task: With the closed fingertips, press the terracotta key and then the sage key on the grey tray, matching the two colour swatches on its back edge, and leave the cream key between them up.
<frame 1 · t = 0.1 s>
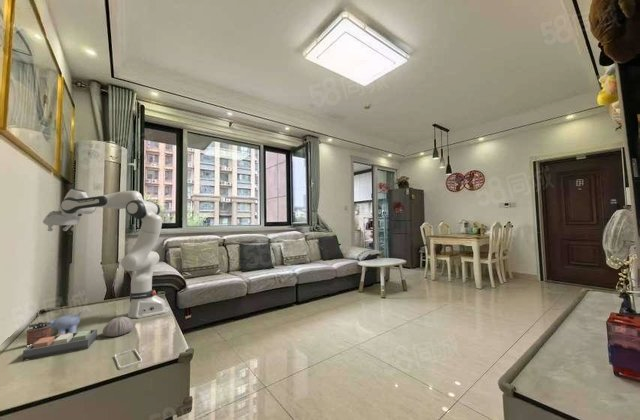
hand: (57, 230, 171), 54 cm above the table, tool tilted 30°, fingers open, 8 cm apart
hippopotamus toy: (63, 333, 140), on the table
lighter: (38, 344, 127), on the table
cream key: (63, 339, 121), point 4 cm above the table, slide at 0.0 cm
grey tray: (63, 347, 121), on the table
terracotta key: (44, 342, 118), point 4 cm above the table, slide at 0.0 cm
sea urchin shell: (118, 333, 137), on the table
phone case: (128, 361, 108), on the table
sage key: (82, 335, 124), point 4 cm above the table, slide at 0.0 cm
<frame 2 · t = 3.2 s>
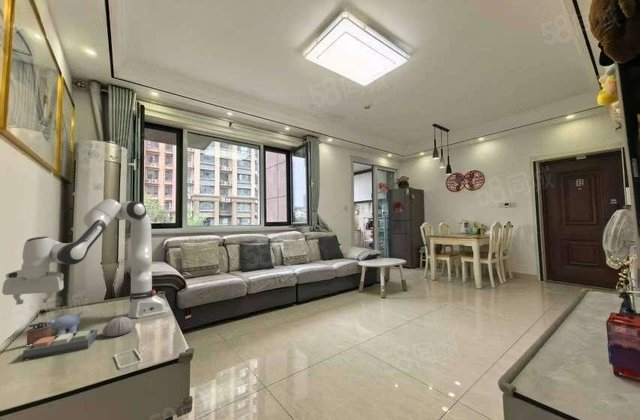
hand: (33, 303, 120), 21 cm above the table, tool pointing down, fingers open, 8 cm apart
nothing on the table moved.
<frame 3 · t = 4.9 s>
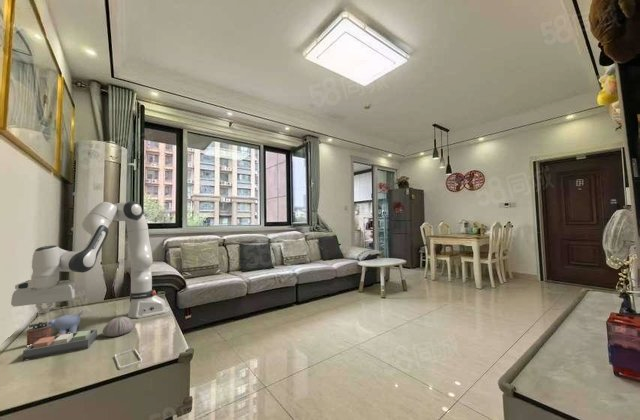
hand: (44, 313, 119), 17 cm above the table, tool pointing down, fingers closed
nothing on the table moved.
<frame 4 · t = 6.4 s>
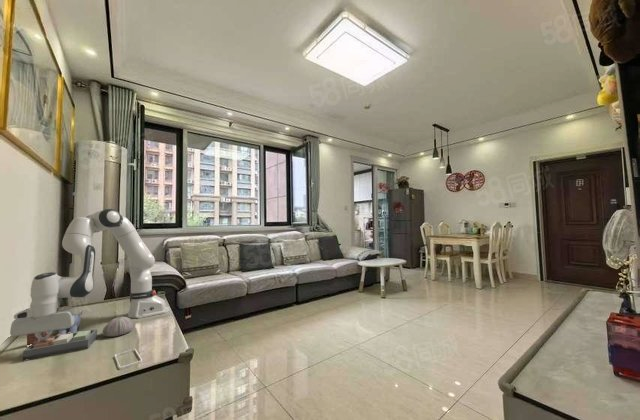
hand: (43, 341, 118), 4 cm above the table, tool pointing down, fingers closed, pressing on terracotta key
terracotta key: (44, 343, 118), point 3 cm above the table, slide at 0.6 cm, touching gripper
everything else where it was.
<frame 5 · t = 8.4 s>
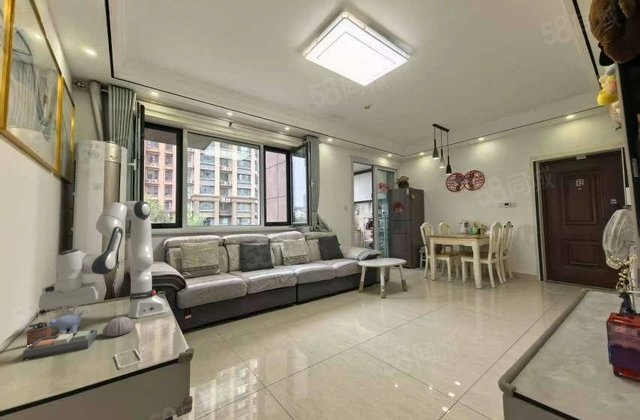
hand: (70, 314, 123), 14 cm above the table, tool pointing down, fingers closed
terracotta key: (44, 344, 118), point 3 cm above the table, slide at 1.1 cm
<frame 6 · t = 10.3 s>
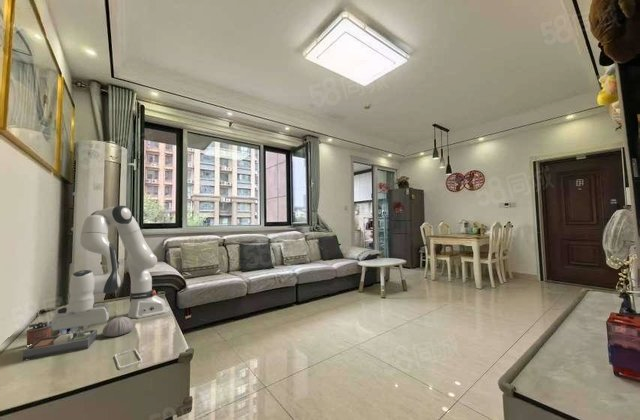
hand: (81, 335, 124), 4 cm above the table, tool pointing down, fingers closed, pressing on sage key
sage key: (82, 337, 124), point 3 cm above the table, slide at 0.9 cm, touching gripper
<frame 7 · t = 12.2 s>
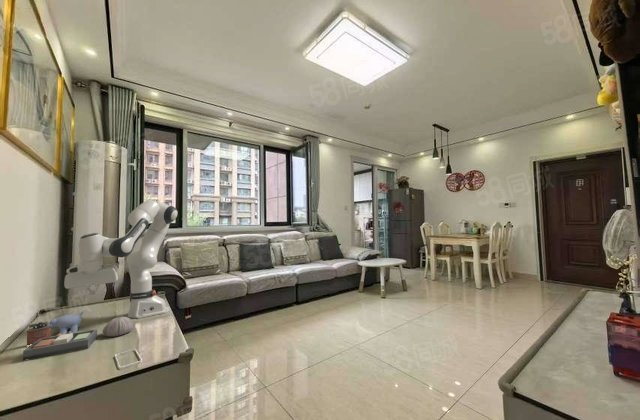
hand: (93, 294, 131), 22 cm above the table, tool pointing down, fingers closed
sage key: (82, 338, 124), point 3 cm above the table, slide at 1.1 cm
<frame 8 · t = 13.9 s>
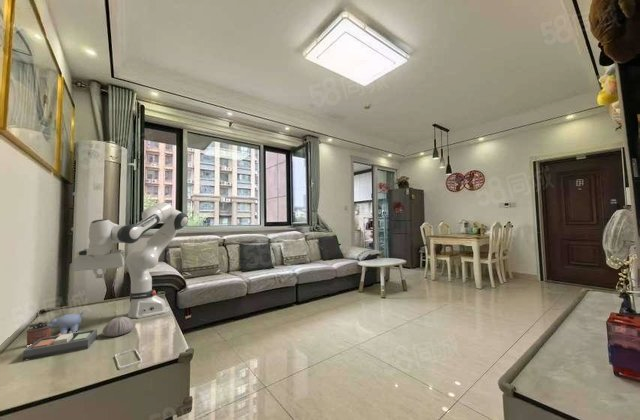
hand: (99, 277, 135), 29 cm above the table, tool pointing down, fingers closed
at the end: terracotta key slide at 1.1 cm; sage key slide at 1.1 cm; cream key slide at 0.0 cm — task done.
